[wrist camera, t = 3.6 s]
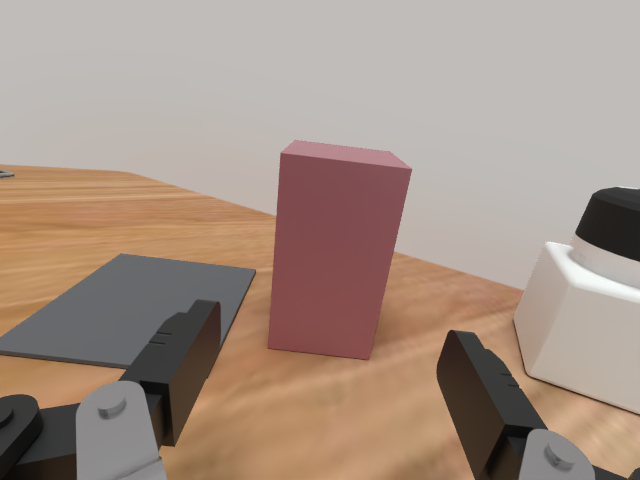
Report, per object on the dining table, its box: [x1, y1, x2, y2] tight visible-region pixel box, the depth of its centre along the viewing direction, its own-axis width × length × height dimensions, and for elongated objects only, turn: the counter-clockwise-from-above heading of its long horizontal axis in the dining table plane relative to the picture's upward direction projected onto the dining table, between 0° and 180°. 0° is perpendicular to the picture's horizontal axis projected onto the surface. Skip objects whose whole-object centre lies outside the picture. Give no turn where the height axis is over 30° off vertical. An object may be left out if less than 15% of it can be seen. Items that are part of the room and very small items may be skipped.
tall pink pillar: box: [268, 140, 412, 360], centre depth 21 cm, size 6×6×12 cm
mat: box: [0, 254, 256, 377], centre depth 23 cm, size 12×12×1 cm
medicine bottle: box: [513, 187, 640, 414], centre depth 20 cm, size 7×7×12 cm
